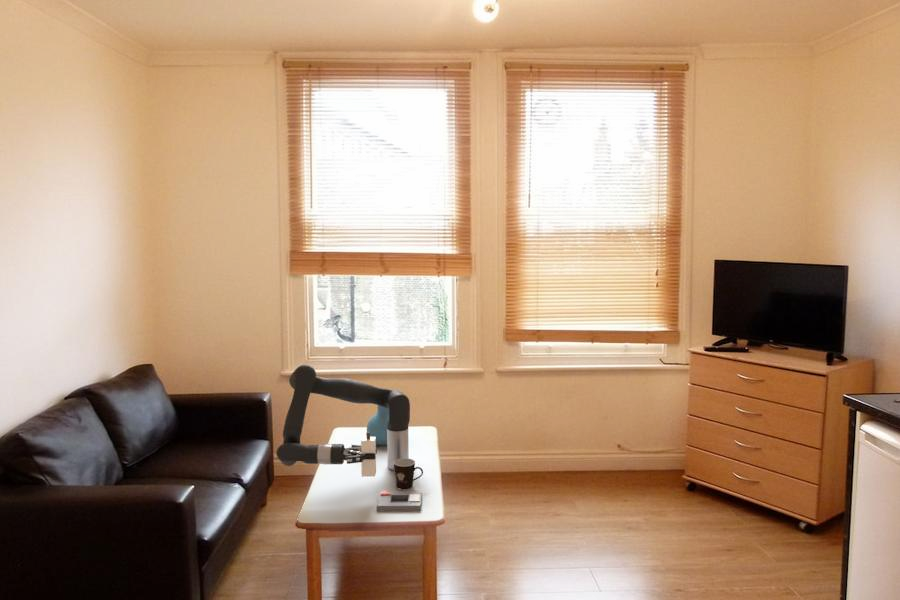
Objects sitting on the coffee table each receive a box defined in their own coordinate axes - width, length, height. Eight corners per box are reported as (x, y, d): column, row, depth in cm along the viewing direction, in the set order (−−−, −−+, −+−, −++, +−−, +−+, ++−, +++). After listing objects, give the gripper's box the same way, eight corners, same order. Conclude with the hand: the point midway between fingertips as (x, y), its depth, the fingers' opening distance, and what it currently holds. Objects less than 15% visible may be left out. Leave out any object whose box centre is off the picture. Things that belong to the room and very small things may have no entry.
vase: (376, 450, 287) (375, 398, 285) (361, 440, 301) (360, 390, 298) (407, 443, 296) (406, 393, 294) (391, 434, 310) (390, 386, 307)
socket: (379, 497, 236) (379, 490, 236) (421, 496, 236) (421, 490, 236) (376, 511, 224) (376, 504, 224) (420, 510, 225) (420, 503, 224)
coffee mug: (389, 486, 246) (389, 462, 245) (405, 480, 252) (405, 456, 251) (408, 494, 238) (408, 470, 237) (424, 488, 244) (424, 464, 243)
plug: (363, 471, 236) (362, 430, 234) (376, 471, 236) (375, 430, 234) (361, 476, 231) (360, 434, 230) (374, 476, 232) (374, 434, 230)
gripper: (327, 451, 225) (373, 451, 225) (334, 438, 239) (377, 438, 240) (327, 470, 226) (374, 470, 226) (334, 456, 240) (378, 456, 240)
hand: (375, 453), depth 233 cm, fingers closed on plug, 4 cm apart
